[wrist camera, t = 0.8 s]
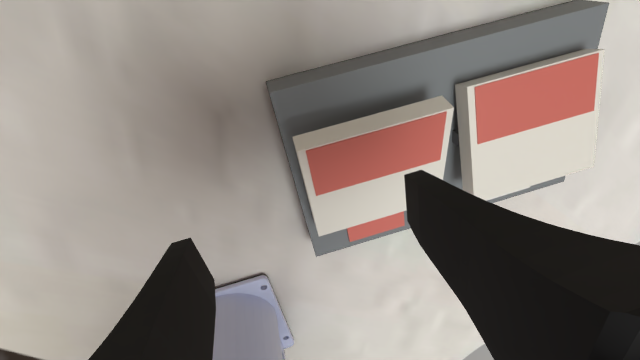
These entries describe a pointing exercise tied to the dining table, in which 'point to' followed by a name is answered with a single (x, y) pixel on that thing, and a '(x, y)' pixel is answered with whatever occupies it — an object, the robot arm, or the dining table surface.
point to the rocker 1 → (371, 162)
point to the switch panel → (422, 90)
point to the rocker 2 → (529, 123)
